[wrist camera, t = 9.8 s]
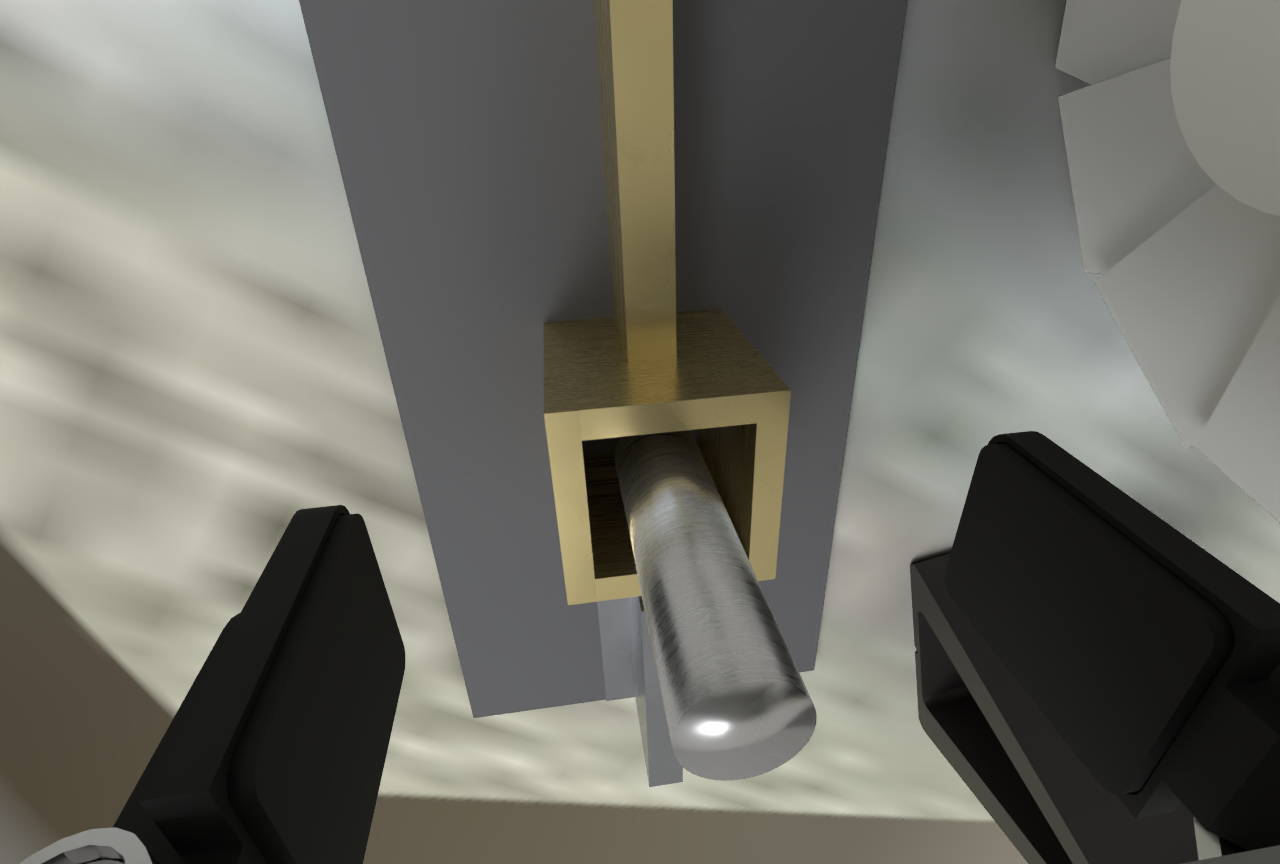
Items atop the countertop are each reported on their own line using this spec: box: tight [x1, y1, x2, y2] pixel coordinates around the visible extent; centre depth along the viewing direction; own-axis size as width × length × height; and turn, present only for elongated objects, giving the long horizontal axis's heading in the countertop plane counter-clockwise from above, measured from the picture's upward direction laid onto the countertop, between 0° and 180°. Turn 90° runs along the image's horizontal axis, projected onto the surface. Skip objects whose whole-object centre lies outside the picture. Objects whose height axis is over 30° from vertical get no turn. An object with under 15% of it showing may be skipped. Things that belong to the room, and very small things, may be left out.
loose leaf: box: [543, 0, 791, 605], centre depth 12 cm, size 12×4×5 cm, turn 2°
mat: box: [299, 0, 908, 718], centre depth 17 cm, size 21×12×1 cm, turn 2°
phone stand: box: [910, 553, 1199, 864], centre depth 18 cm, size 9×6×12 cm, turn 14°
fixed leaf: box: [597, 430, 816, 787], centre depth 14 cm, size 12×3×10 cm, turn 2°
